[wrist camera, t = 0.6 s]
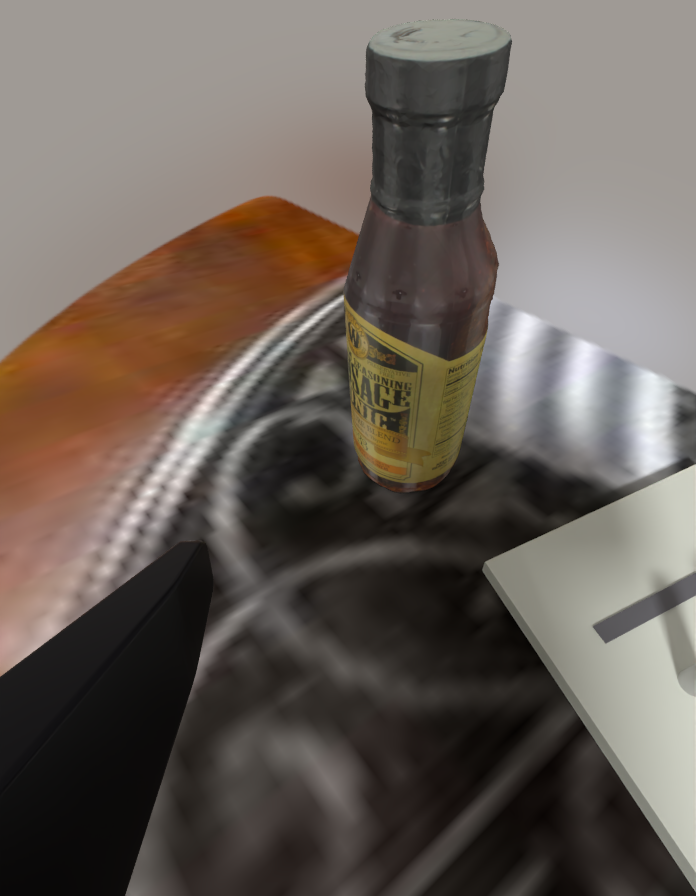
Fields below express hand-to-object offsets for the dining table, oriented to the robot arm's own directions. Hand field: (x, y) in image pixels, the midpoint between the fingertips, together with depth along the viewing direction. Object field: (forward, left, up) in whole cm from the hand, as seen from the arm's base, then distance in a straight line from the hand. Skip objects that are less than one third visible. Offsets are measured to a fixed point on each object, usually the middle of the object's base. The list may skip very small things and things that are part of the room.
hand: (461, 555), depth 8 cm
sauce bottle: (+12, -6, -15) cm, 21 cm away
